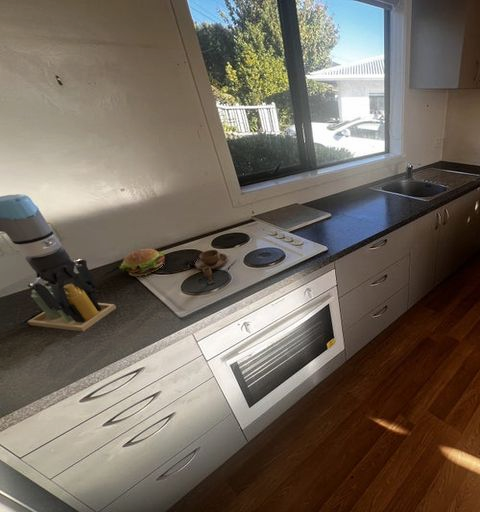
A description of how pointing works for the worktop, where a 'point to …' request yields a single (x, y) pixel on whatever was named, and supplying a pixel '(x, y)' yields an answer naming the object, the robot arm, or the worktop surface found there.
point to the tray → (72, 325)
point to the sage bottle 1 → (45, 306)
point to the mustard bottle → (80, 301)
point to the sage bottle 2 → (67, 318)
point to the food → (143, 262)
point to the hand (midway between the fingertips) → (89, 315)
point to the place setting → (211, 262)
